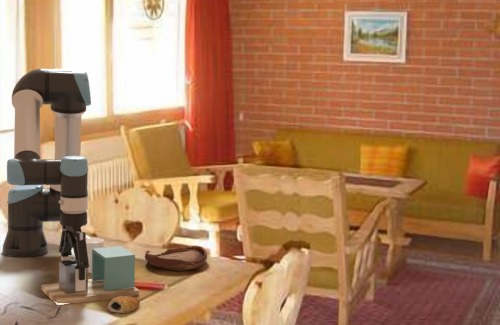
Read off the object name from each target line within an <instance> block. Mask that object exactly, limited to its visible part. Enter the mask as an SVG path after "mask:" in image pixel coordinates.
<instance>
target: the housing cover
mask: <svg viewBox="0 0 500 325" xmlns="http://www.w3.org/2000/svg"><path fill="white" fill-rule="evenodd" d="M135 269H136V254H135V253H133V252H132V251H130V250H128V249H127V248H125V247H123V246H121V245H118V246H117V245H116V246H115V245H114V246H107V247H105V246H104V248H94V249H92V273H91V279H92V281H99V280H104V290H105V291H108V290H116V289H124V288H132V287H135V285H136V284H135V283H136V282H135V279H136V278H135V276H136V275H135V274H136V270H135Z"/></svg>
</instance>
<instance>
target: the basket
mask: <svg viewBox="0 0 500 325" xmlns="http://www.w3.org/2000/svg"><path fill="white" fill-rule="evenodd" d="M150 252H151V251H150V250H146V251H145V254H144V259H145V260H146V261H147V262H148V263H149V264H150V265H152V266H154V267H158V268H162V269H165V270H169V271H177V272H181V271H190V270H193V269H194V270H195V269H197V268H199V267H201V266H202V265H205V263H206V261H207V259H208V253H207V250H206V248H205V247H203V246H201V245H192V246H183V247H178V248H177V247H176V248H175V247H174V248H168V249H166V250H165V251H164V252H161V253H160V254H159V253H158V254H151V253H150Z"/></svg>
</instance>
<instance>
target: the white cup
mask: <svg viewBox="0 0 500 325" xmlns="http://www.w3.org/2000/svg"><path fill="white" fill-rule="evenodd" d="M86 246H87V254H88V262H89V267H88V274H92V249H94V248H104V247H105V239H103V237H102V238H101V237H97V236H95V237H91V236H90V237H86Z"/></svg>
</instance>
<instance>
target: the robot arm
mask: <svg viewBox="0 0 500 325" xmlns="http://www.w3.org/2000/svg"><path fill="white" fill-rule="evenodd" d="M88 75H89V74H88V73H87V72H86V71H85V70H81V69H74V68H72V69H71V68H67V69H66V68H43V67H42V68H36V69H33V70H31V71H28V72H26V73H25V74H24V75H22V76H21V78H19V79H18V81H17V82H16V84H15V86H14V87H13V89H12V94H11V105H12V107H13V108H14V134H13V135H14V140H13V142H14V144H13V145H14V146H13V147H14V151H13V158H10V159H8V160H7V161H6V180H7V184H9V185H12V186H14V187H11V188H10V189H9V190H8V192H7V202H6V204H7V232H6V236H5V238H4V241H3V244H2V254H4V255H5V256H9V257H15V258H25V257H26V258H27V257H28V258H29V257H36V256H37V257H38V256H42V255H45V254H47V253H48V252H49V245H48V244H49V243H48V240H47V238H46V235H45V231H44V223H45V222H46V223H48V222H49V223H52V222H54V223H55V222H56V223H57V222H58V223H60V225H61V236H60V241H59V248H58V252H59V253H60V256H61V260H60V261H64V260H72V256H73V254H74V259H75V260H76V265H77V266H75V269H76V282H75V291H84V290H86V268H88V267H89V262H88V254H87V246H86V238H87V237H86V236H87V235H86V234H87V233H86V232H84V231H82V227H84V226H86V225H87V224H88V211H87V210H88V204H89V203H88V202H89V200H88V199H89V189H88V177H89V176H88V175H89V173H88V172H89V164H88V158H87V157H85V156H81V149H82V148H81V147H82V146H81V145H82V144H81V143H82V138H81V137H82V115H83V114H84V113H85V112H87V106H88V107H90V106H91V104H92V100H91V89H90V87H91V86H90V83H89V82H90V81H89V76H88ZM44 105H49V106H50V111H51V112H52V113H53V114H54V117H55V118H54V159H53V158H52V159H51V158H49V159H48V158H47V159H45V158H41V108H42V107H43V106H44ZM44 186H49V188H45V187H44ZM72 250H73V252H72ZM82 263H83V264H82Z"/></svg>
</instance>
